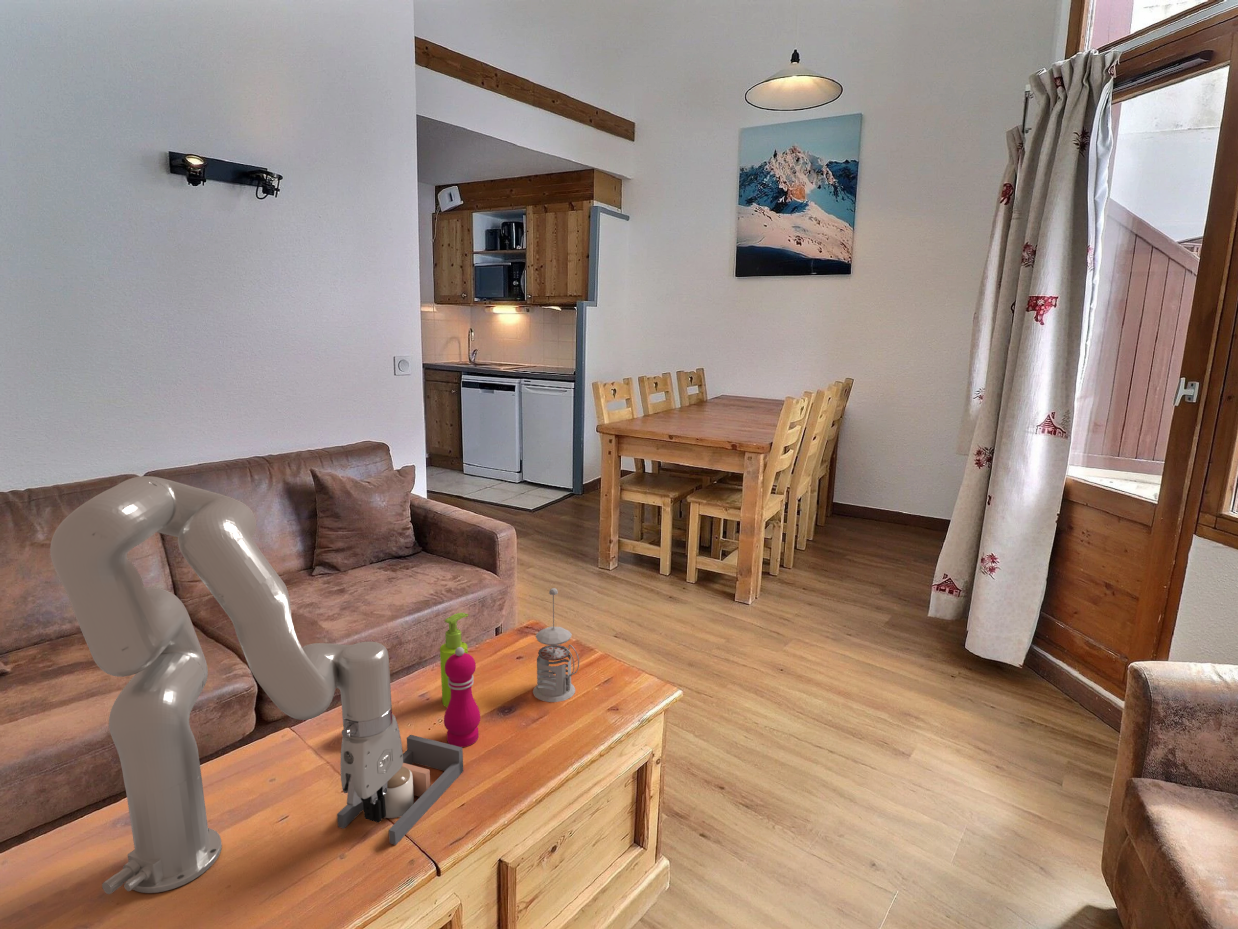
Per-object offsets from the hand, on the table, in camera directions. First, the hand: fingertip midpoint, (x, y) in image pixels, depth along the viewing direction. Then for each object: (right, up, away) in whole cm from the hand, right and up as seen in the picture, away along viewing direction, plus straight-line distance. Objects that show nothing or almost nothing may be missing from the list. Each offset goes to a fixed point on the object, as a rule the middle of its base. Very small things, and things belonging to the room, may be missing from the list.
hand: (375, 817), depth 115 cm
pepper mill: (+9, +3, +25) cm, 27 cm away
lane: (+3, 0, +8) cm, 8 cm away
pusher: (+3, 0, +9) cm, 10 cm away
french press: (+27, +7, +43) cm, 51 cm away
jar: (+2, -1, +5) cm, 6 cm away
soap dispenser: (+5, +6, +39) cm, 40 cm away
